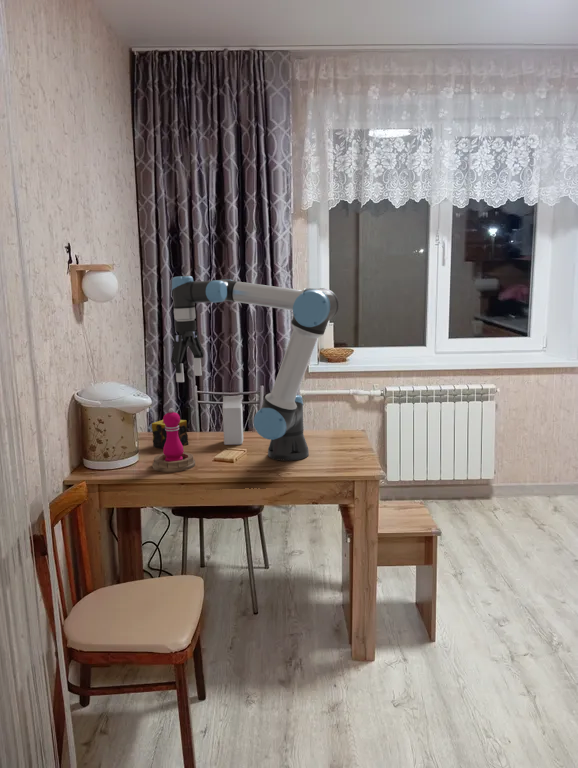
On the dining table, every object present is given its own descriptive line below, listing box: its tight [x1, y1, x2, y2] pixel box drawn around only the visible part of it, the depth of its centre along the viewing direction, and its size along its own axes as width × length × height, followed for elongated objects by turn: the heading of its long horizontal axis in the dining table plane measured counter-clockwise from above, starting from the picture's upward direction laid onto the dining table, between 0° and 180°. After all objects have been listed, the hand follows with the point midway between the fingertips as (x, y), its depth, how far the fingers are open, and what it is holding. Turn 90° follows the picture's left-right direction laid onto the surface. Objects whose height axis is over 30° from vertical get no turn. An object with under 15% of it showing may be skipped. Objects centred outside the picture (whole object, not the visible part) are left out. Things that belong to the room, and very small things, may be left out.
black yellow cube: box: [151, 419, 189, 449], centre depth 270 cm, size 10×10×10 cm
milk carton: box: [222, 395, 244, 445], centre depth 272 cm, size 7×7×19 cm
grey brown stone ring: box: [152, 451, 196, 473], centre depth 244 cm, size 15×15×3 cm
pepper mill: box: [162, 407, 185, 461], centre depth 242 cm, size 7×7×20 cm
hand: (189, 378), depth 247 cm, fingers open, 13 cm apart
